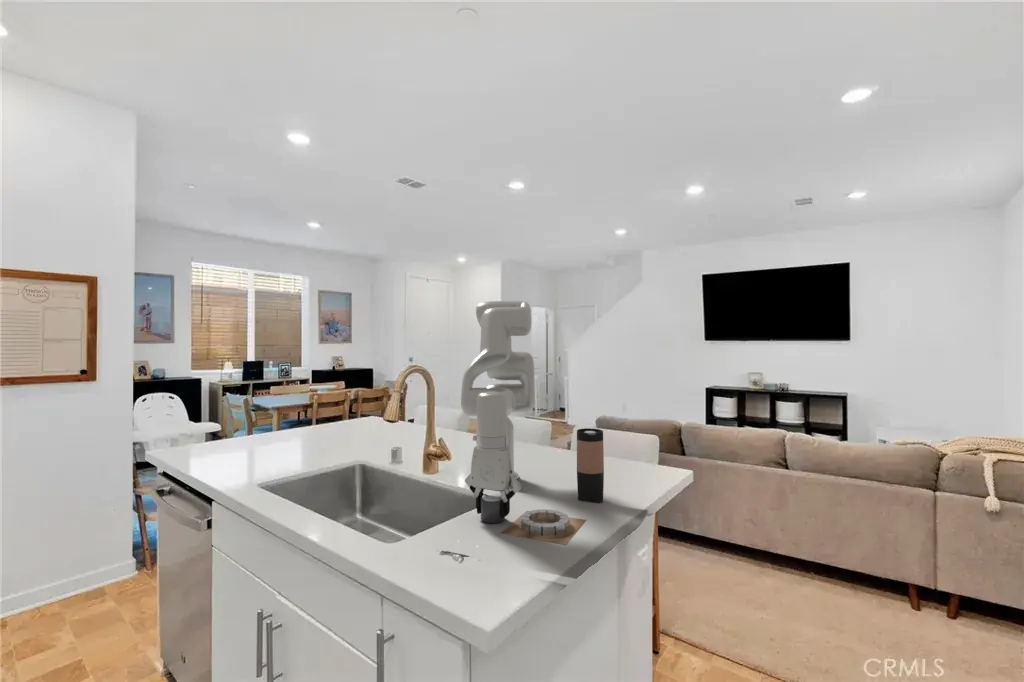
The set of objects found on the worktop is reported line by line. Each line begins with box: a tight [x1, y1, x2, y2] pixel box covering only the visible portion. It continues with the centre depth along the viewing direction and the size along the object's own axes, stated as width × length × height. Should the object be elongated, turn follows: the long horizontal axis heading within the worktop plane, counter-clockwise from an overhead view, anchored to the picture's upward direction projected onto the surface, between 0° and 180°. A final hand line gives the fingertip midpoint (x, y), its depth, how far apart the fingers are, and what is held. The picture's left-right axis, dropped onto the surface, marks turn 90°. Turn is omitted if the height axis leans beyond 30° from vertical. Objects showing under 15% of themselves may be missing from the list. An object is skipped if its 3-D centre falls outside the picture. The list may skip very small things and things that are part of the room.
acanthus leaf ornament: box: [439, 540, 479, 564], centre depth 101 cm, size 8×7×2 cm
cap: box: [480, 492, 506, 524], centre depth 117 cm, size 6×6×5 cm
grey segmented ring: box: [519, 509, 570, 536], centre depth 112 cm, size 12×12×2 cm
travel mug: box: [576, 427, 605, 505], centre depth 134 cm, size 8×8×20 cm
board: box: [499, 510, 587, 546], centre depth 112 cm, size 16×16×1 cm
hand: (492, 513), depth 117 cm, fingers closed on cap, 5 cm apart
